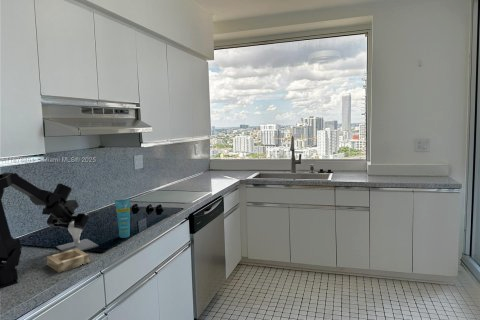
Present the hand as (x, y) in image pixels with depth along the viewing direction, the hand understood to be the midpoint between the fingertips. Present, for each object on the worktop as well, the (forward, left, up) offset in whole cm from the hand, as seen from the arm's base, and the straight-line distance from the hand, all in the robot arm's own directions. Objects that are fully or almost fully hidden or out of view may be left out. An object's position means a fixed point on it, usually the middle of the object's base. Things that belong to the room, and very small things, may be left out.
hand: (77, 228), depth 161 cm
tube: (+21, -4, -9) cm, 23 cm away
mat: (-1, -1, -9) cm, 9 cm away
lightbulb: (-1, -1, -7) cm, 7 cm away
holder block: (-11, -19, -9) cm, 23 cm away
